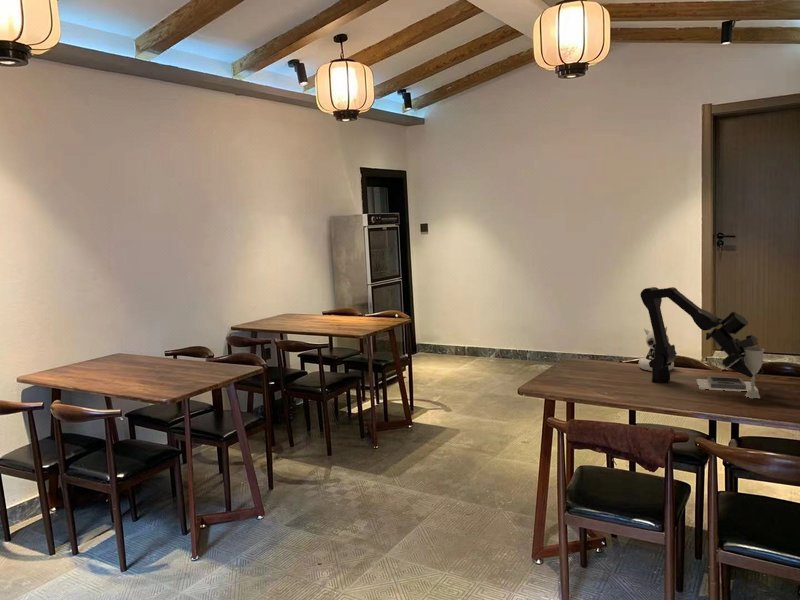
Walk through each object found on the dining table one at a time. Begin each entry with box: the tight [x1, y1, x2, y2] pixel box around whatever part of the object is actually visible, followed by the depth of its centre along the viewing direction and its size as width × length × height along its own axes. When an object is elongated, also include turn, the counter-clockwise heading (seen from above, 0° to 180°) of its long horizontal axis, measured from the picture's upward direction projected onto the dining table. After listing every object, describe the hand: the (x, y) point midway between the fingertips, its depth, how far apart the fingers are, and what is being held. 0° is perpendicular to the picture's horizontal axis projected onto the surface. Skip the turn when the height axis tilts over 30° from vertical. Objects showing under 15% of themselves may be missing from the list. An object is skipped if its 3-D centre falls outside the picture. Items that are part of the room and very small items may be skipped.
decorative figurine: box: [638, 326, 675, 372], centre depth 269 cm, size 15×15×20 cm
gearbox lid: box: [696, 375, 759, 392], centre depth 237 cm, size 20×14×2 cm
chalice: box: [743, 346, 765, 399], centre depth 221 cm, size 7×7×18 cm
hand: (757, 374), depth 220 cm, fingers open, 9 cm apart
